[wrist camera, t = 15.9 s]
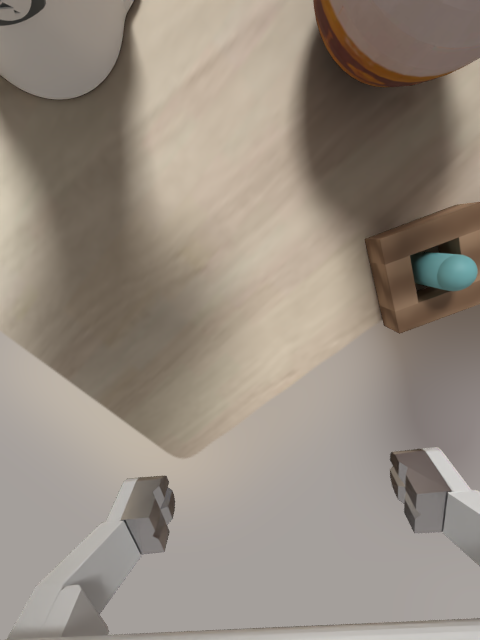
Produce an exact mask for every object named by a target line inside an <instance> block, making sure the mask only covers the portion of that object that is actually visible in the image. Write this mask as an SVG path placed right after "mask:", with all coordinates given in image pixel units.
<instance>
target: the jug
mask: <svg viewBox="0 0 480 640" xmlns="http://www.w3.org/2000/svg"><path fill="white" fill-rule="evenodd" d="M314 9H315V16H316V21H317V25H318V28H319V32H320V35H321V37H322V39H323V42H324V44H325V46H326V48H327V50H328V51H329V53H330V55H331V56H332V58H333V59H334V61H335V62H336V63H337V64H338V65H339V66H340V67H341V68H342V70H344V71H345V72H346V73H347V74H349V75H350V76H351V77H353V78H355V79H356V80H358V81H360V82H362V83H365V84H368V85H371V86H377V87H399V86H411V85H415V84H419V83H422V82H426V81H429V80H432V79H435V78H438V77H441V76H444V75H448V74H450V73H452V72H454V71H456V70H458V69H460V68H462V67H464V66H466V65H468V64H470V63H471V62H473V61H475V60H477V59H478V58H480V0H314Z"/></svg>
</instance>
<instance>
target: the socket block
mask: <svg viewBox="0 0 480 640" xmlns="http://www.w3.org/2000/svg"><path fill="white" fill-rule="evenodd" d="M365 242H366V247H367V251H368V256H369V260H370V265H371V269H372V274H373V278H374V283H375V287H376V292H377V296H378V301H379V305H380V310H381V314H382V319H383V323H384V326H386V327H388V328H390V329H392V330H394V331H396V332H398V333H403V332H405V331H408V330H411V329H413V328H416V327H419V326H422V325H424V324H427V323H430V322H432V321H435V320H438V319H440V318H443V317H446V316H449V315H451V314H454V313H457V312H459V311H462V310H465V309H467V308H470V307H473V306H475V305H478V304H480V202H475V203H467V204H460V205H455V206H452V207H449V208H447V209H444V210H441V211H439V212H436V213H433V214H431V215H428V216H425V217H423V218H420V219H417V220H414V221H412V222H409V223H406V224H404V225H401V226H398V227H396V228H393V229H390V230H388V231H385V232H382V233H380V234H377V235H374V236H372V237H369V238H366V239H365ZM437 245H438V248H439V253H446V254H460V255H465V256H467V257H469V258H471V259H472V260H473V261H474V262H475V264H476V265H477V269H478V273H477V277H476V279H475V281H474V282H473V283H472V284H471V285H470V286H469V287H467V288H465V289H463V290H459V291H447V290H443V289H438V288H434V287H427V288H425V289H422V290H419V291H417V292H416V287H415V281H414V276H413V270H412V265H411V259H410V255H413V254H415V253H418V252H421V251H423V250H426V249H429V248H432V247H434V246H437Z"/></svg>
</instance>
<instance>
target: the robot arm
mask: <svg viewBox="0 0 480 640" xmlns="http://www.w3.org/2000/svg"><path fill="white" fill-rule="evenodd" d="M133 1H134V0H0V75H1V76H2V77H4V78H5V79H6V80H8V81H9V82H10V83H12V84H13V85H15V86H16V87H18V88H20V89H22V90H24V91H26V92H28V93H30V94H33V95H36V96H39V97H43V98H48V99H70V98H74V97H78V96H81V95H83V94H86V93H88V92H89V91H91V90H93V89H94V88H96V87H97V86H98V85H99V84H100V83H101V82H102V81H103V80H104V79H105V78H106V77H107V76H108V74H109V73H110V71H111V70H112V68H113V66H114V64H115V62H116V60H117V58H118V55H119V52H120V48H121V44H122V39H123V30H124V23H125V18H126V14H127V12H128V10H129V8H130V7H131V5H132V3H133ZM390 461H391V463H392V465H393V467H392V468H391V469H390V478H391V482H392V486H393V489H394V492H395V494H396V496H397V498H398V500H399V501H401V502H402V503H403V504H404V513H405V515H406V517H407V519H408V521H409V523H410V525H411V527H412V529H413V531H414V533H430V532H431V533H432V532H443V534H444V535H445V536H446V537H447V538H449V539H450V540H451V541H452V542H453V543H454V544H455V545H456V546H458V547H459V548H460V549H461V550H462V551H463V552H464V553H465V554H466V555H468V556H469V557H470V558H471V559H472V560H473V561H474V562H475V563H477V564H478V565H479V566H480V492H479V491H477V490H471V489H470V488H469V486H468V485H467V484H466V482H465V481H464V480H463V478H462V477H461V476H460V474H459V473H458V472H457V470H456V469H455V468H454V466H453V465H452V464H451V462H450V461H449V460H448V458H447V457H446V456H445V454H444V453H443V452H442V450H441V449H439V448H438V447H434V448H424V449H413V450H405V451H396V452H391V454H390ZM168 484H169V481H168V479H167V476H154V477H140V478H130V479H126V480H125V481H124V483H123V484H122V486H121V489H120V491H119V493H118V495H117V497H116V500H115V502H114V504H113V506H112V508H111V511H110V513H109V515H108V517H107V520H106V522H102V523H101V524H99V526H97V528H96V529H94V530H93V531H92V532H91V533H90V534H89V535H88V536H87V537H86V538H85V539H84V540H83V541H82V542H81V543H80V544H79V545H78V546H77V547H76V548H75V549H74V550H73V551H72V552H71V553H70V554H69V555H68V556H67V557H65V558H64V559H63V560H62V561H61V562H60V563H59V564H58V565H57V566H56V567H55V568H54V569H53V570H52V571H51V572H50V573H49V574H48V575H47V576H46V577H45V578H44V579H43V580H42V581H41V582H40V583H39V584H38V585H37V586H36V588H35V589H34V591H33V593H32V594H31V596H30V598H29V600H28V602H27V604H26V605H25V607H24V609H23V611H22V613H21V614H20V616H19V618H18V620H17V622H16V623H15V625H14V627H13V629H12V631H11V632H10V634H9V636H8V638H7V640H480V618H476V619H475V618H474V619H452V620H429V621H407V622H384V623H362V624H341V625H318V626H296V627H273V628H252V629H228V630H206V631H186V632H185V631H184V632H165V633H142V634H141V633H140V634H119V635H108V633H109V630H108V627H107V625H106V623H105V622H104V620H103V619H102V618H101V616H100V613H101V612H102V610H103V609H104V607H105V606H106V605H107V603H108V602H109V600H110V599H111V598H112V596H113V595H114V594H115V592H116V591H117V589H118V588H119V587H120V585H121V584H122V582H123V581H124V580H125V578H126V577H127V575H128V574H129V573H130V571H131V570H132V568H133V567H134V566H135V564H136V562H137V561H138V560H139V558H140V557H141V554H149V553H159V552H164V551H165V548H166V544H167V540H168V536H169V529H168V527H167V525H168V523H169V522H170V521H171V520H172V519H173V514H174V509H175V498H174V494H173V491H172V490H171V489H170V488H168Z"/></svg>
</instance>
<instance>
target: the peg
mask: <svg viewBox="0 0 480 640" xmlns="http://www.w3.org/2000/svg"><path fill="white" fill-rule="evenodd" d="M410 259H411V265H412V270H413V276H414V281H415V283H416V284H421V285H425V286H429V287H434V288H438V289H443V290H447V291H459V290H463V289H465V288H467V287H469V286H470V285H471V284H472V283H473V282H474V281H475V279H476V277H477V273H478V269H477V265H476V264H475V262H474V261H473V260H472V259H471V258H469V257H467V256H465V255H460V254H446V253H432V252H418V253H415V254H413V255H410Z"/></svg>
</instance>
